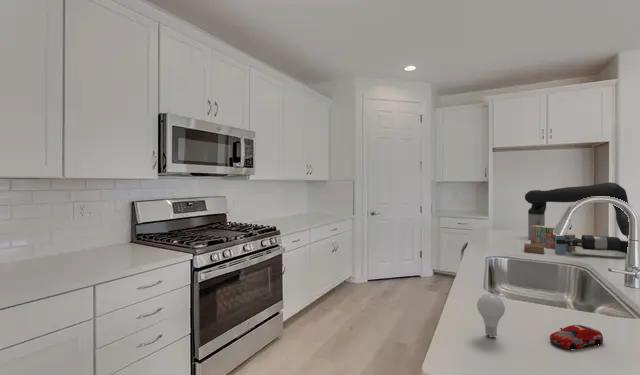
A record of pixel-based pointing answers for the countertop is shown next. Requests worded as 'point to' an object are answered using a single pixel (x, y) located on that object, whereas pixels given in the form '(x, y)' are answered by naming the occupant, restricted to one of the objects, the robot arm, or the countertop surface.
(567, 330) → the race car
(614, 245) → the robot arm
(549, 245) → the stack of blocks
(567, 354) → the countertop surface
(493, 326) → the lightbulb
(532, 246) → the base block
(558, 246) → the pillar block
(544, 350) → the countertop surface
